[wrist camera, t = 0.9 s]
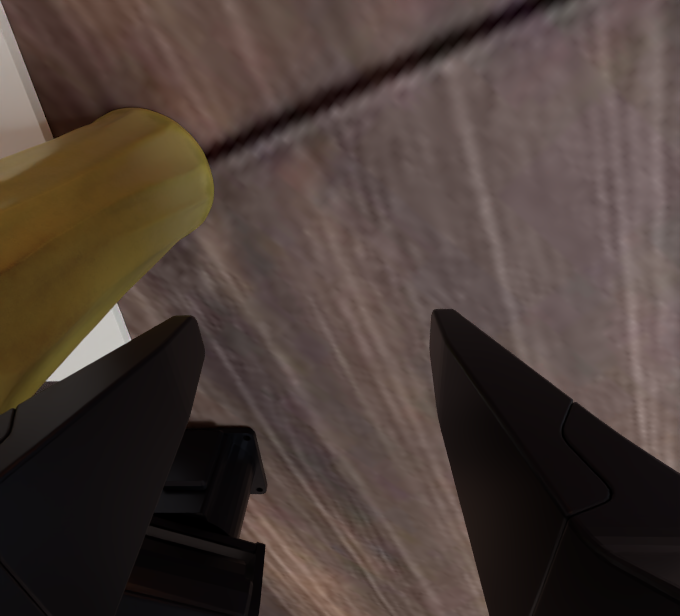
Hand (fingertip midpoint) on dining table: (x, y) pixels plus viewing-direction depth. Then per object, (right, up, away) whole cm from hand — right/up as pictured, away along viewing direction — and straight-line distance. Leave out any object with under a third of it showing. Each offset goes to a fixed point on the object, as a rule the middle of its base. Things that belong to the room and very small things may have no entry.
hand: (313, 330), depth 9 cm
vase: (-8, +7, +12) cm, 16 cm away
